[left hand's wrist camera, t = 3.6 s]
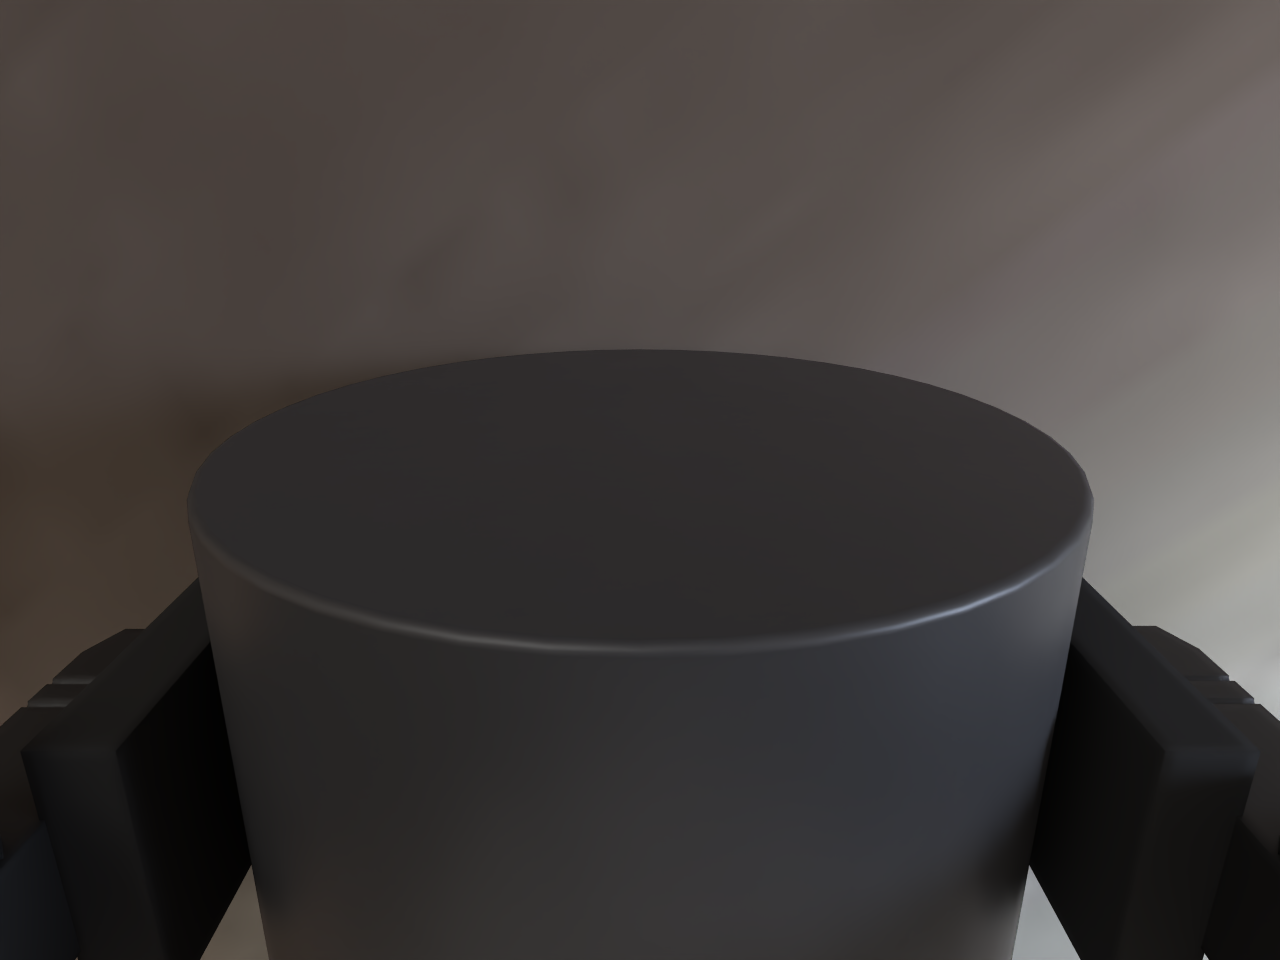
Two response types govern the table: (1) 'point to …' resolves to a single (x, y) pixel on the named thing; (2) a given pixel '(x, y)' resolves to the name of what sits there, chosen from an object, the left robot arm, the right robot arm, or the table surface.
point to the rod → (640, 659)
